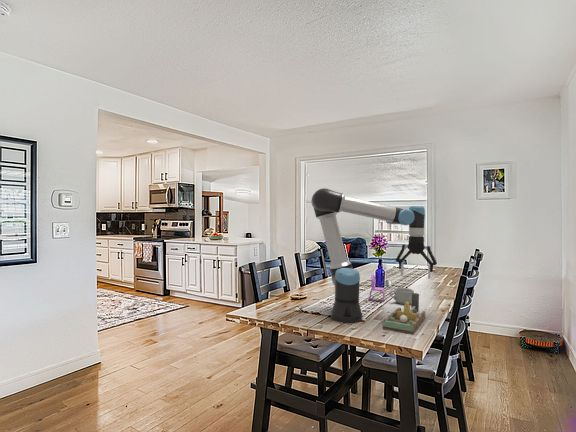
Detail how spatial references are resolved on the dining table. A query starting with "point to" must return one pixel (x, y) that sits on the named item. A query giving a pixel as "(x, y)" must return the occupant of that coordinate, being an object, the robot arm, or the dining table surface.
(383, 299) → the chair
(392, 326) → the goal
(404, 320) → the ball
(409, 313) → the kicker
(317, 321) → the dining table surface
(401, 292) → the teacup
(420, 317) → the tray
